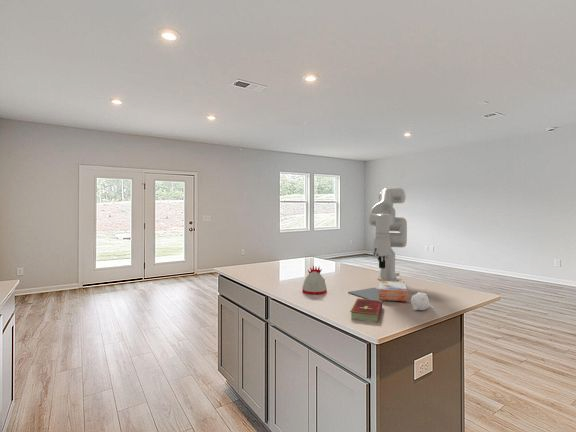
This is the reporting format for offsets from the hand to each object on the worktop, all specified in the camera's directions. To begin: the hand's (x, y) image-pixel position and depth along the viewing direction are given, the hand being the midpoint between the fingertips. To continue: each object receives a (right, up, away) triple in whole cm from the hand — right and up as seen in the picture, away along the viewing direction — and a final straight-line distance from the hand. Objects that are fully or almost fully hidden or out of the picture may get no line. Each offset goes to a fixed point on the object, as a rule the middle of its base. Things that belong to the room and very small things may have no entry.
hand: (382, 268), depth 183 cm
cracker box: (+6, -11, +2) cm, 12 cm away
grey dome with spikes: (-38, -14, +3) cm, 41 cm away
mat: (-5, -14, -5) cm, 16 cm away
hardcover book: (-17, -16, -35) cm, 42 cm away
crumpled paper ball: (+11, -15, -29) cm, 34 cm away
